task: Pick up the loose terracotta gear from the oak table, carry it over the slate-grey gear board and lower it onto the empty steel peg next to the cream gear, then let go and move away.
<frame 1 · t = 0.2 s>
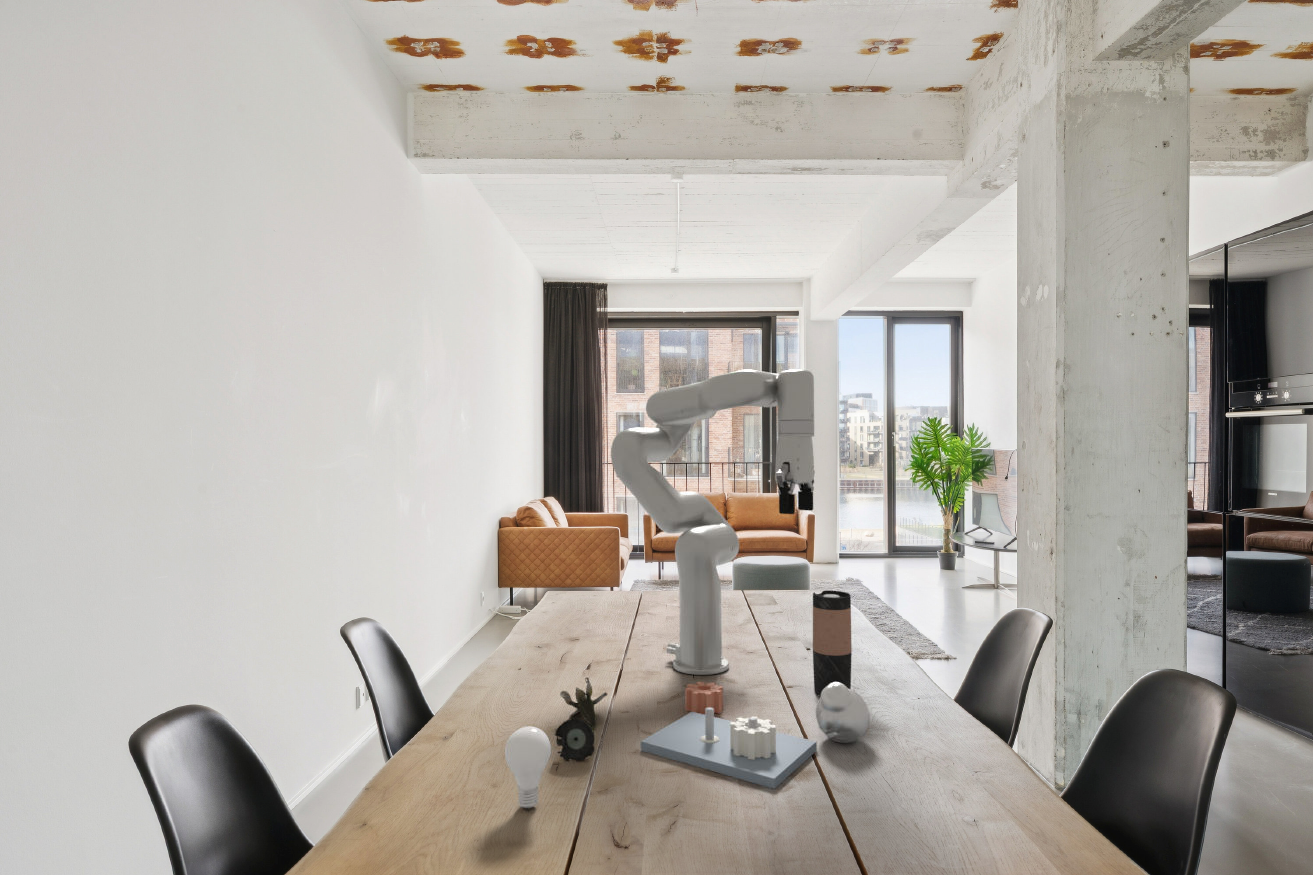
hand: (796, 511, 151), 36 cm above the table, tool pointing down, fingers open, 9 cm apart
artificial flower: (579, 735, 127), on the table
gear board: (728, 750, 119), on the table
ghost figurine: (841, 742, 123), on the table
terracotta gear: (704, 708, 138), on the table
lightbulb: (528, 808, 101), on the table
cream gear: (753, 737, 115), point 4 cm above the table, hinge at 0.0°
travel mug: (832, 693, 146), on the table
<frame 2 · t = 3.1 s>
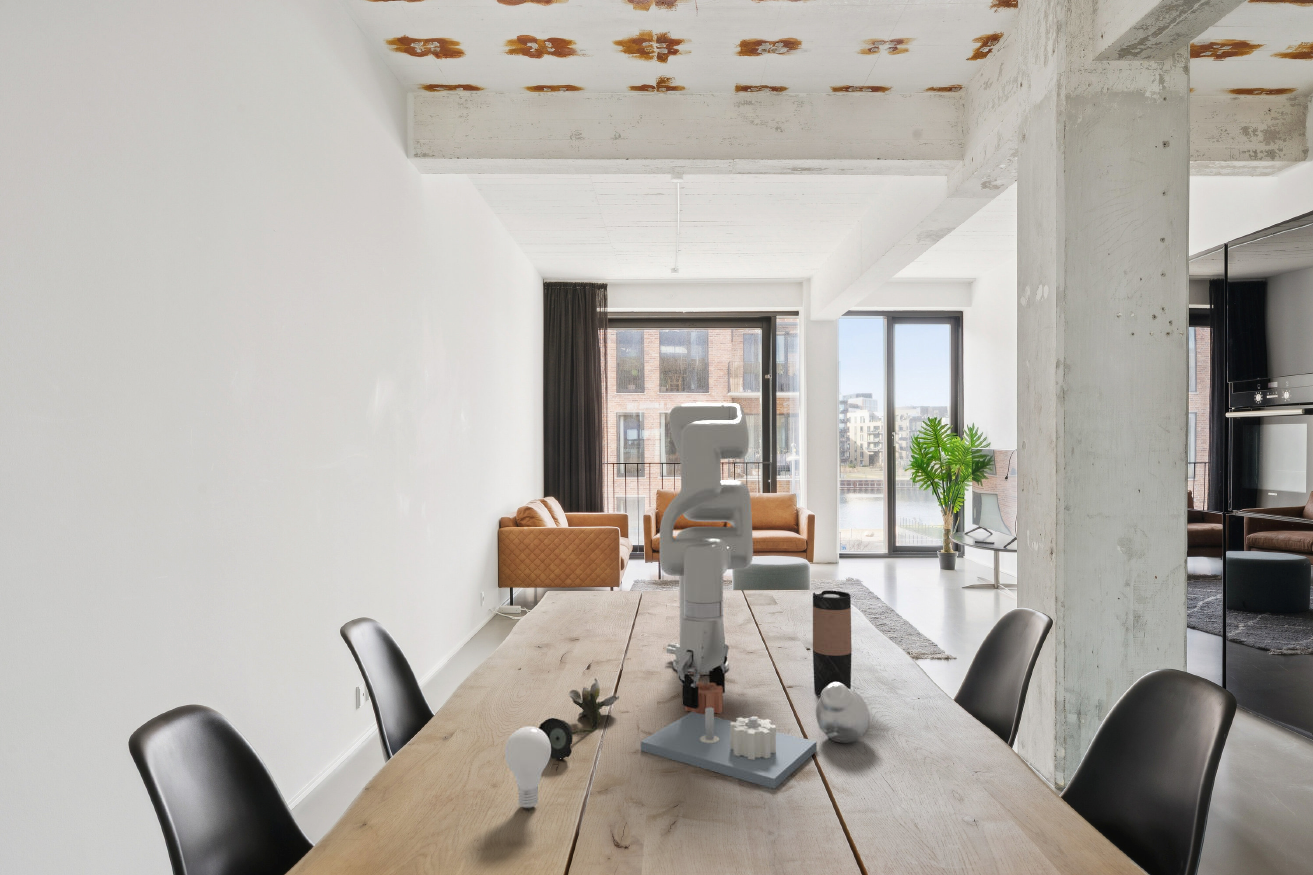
hand: (704, 699, 138), 2 cm above the table, tool pointing down, fingers open, 9 cm apart
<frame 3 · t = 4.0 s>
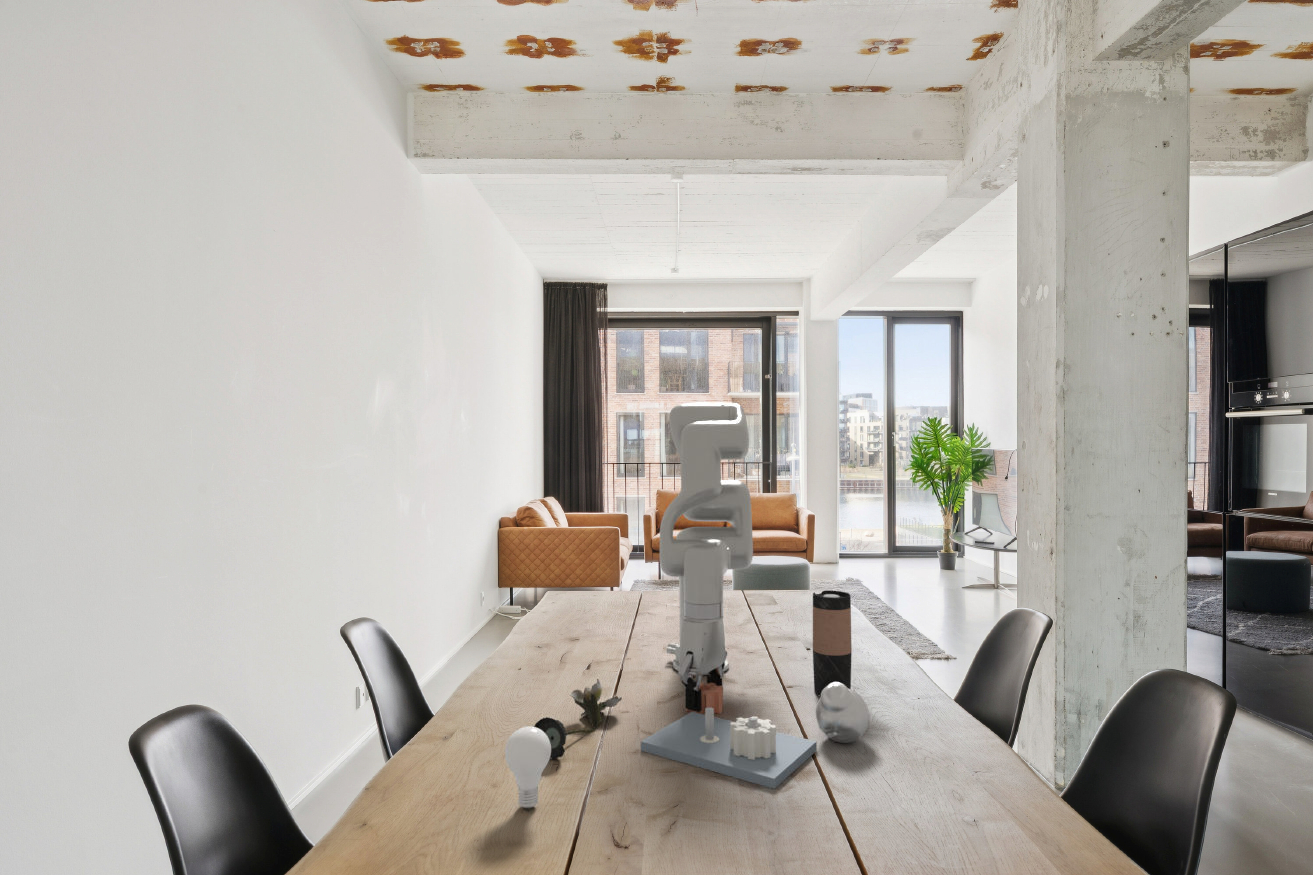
hand: (704, 703, 138), 1 cm above the table, tool pointing down, fingers closed on terracotta gear, 7 cm apart
terracotta gear: (704, 708, 138), on the table, touching gripper
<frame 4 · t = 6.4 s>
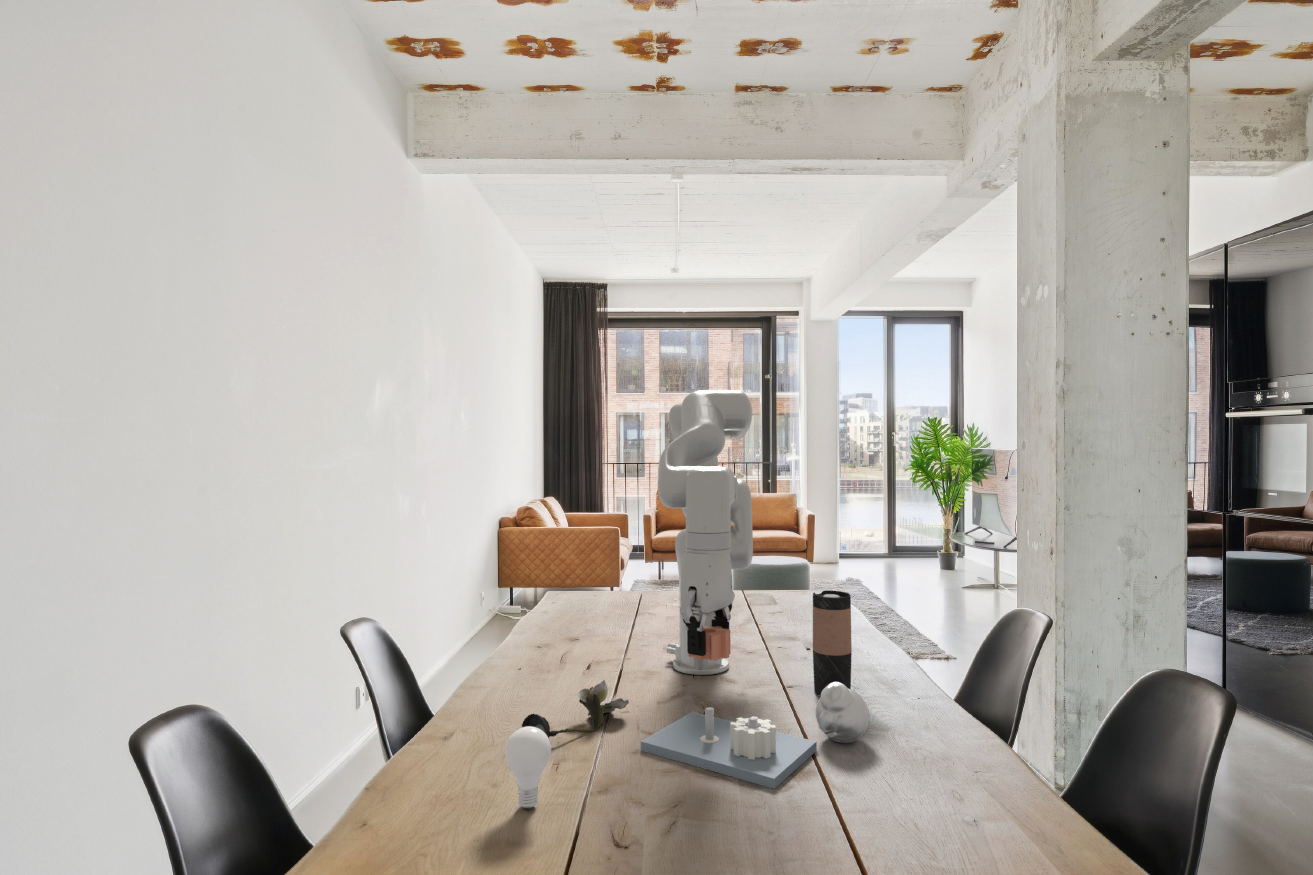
hand: (708, 648, 121), 16 cm above the table, tool pointing down, fingers closed on terracotta gear, 7 cm apart
terracotta gear: (709, 654, 121), point 15 cm above the table, touching gripper
when the fingers open (3 cm above the table, at t = 9.2 s): terracotta gear stays where it is, resting on gear board.
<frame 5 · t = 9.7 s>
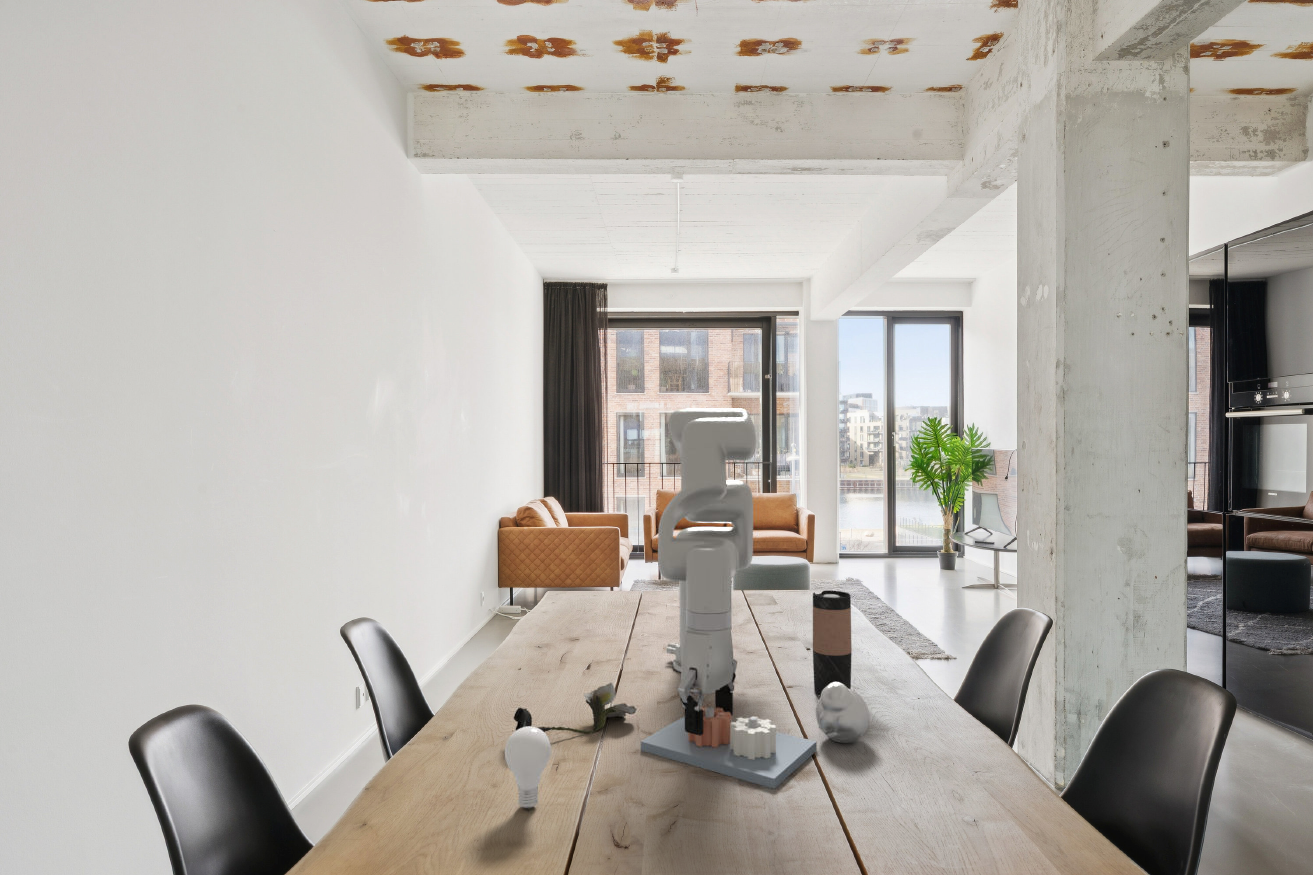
hand: (709, 723, 120), 4 cm above the table, tool pointing down, fingers open, 9 cm apart
terracotta gear: (709, 738, 120), point 2 cm above the table, touching gear board
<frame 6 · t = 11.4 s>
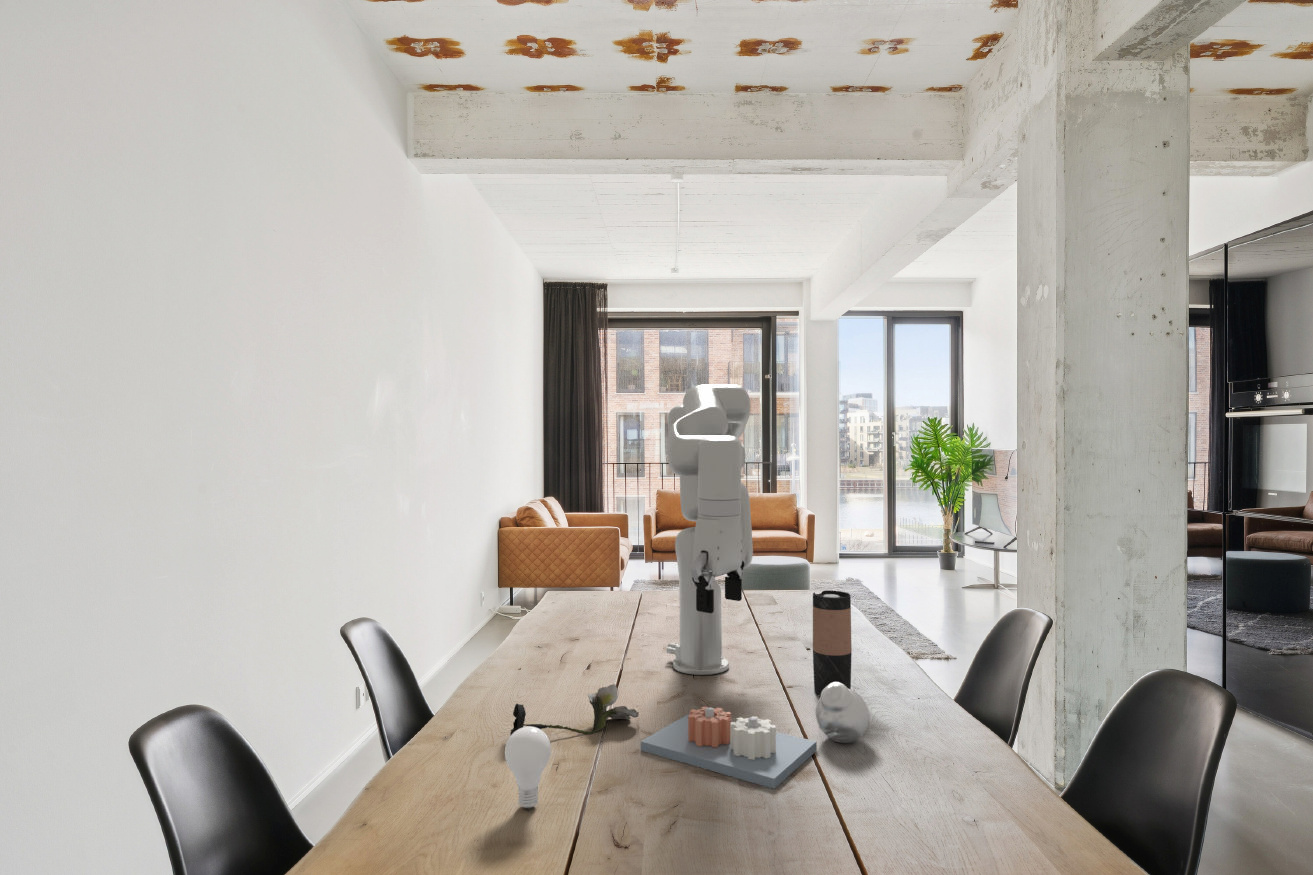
hand: (719, 605, 127), 22 cm above the table, tool pointing down, fingers open, 9 cm apart
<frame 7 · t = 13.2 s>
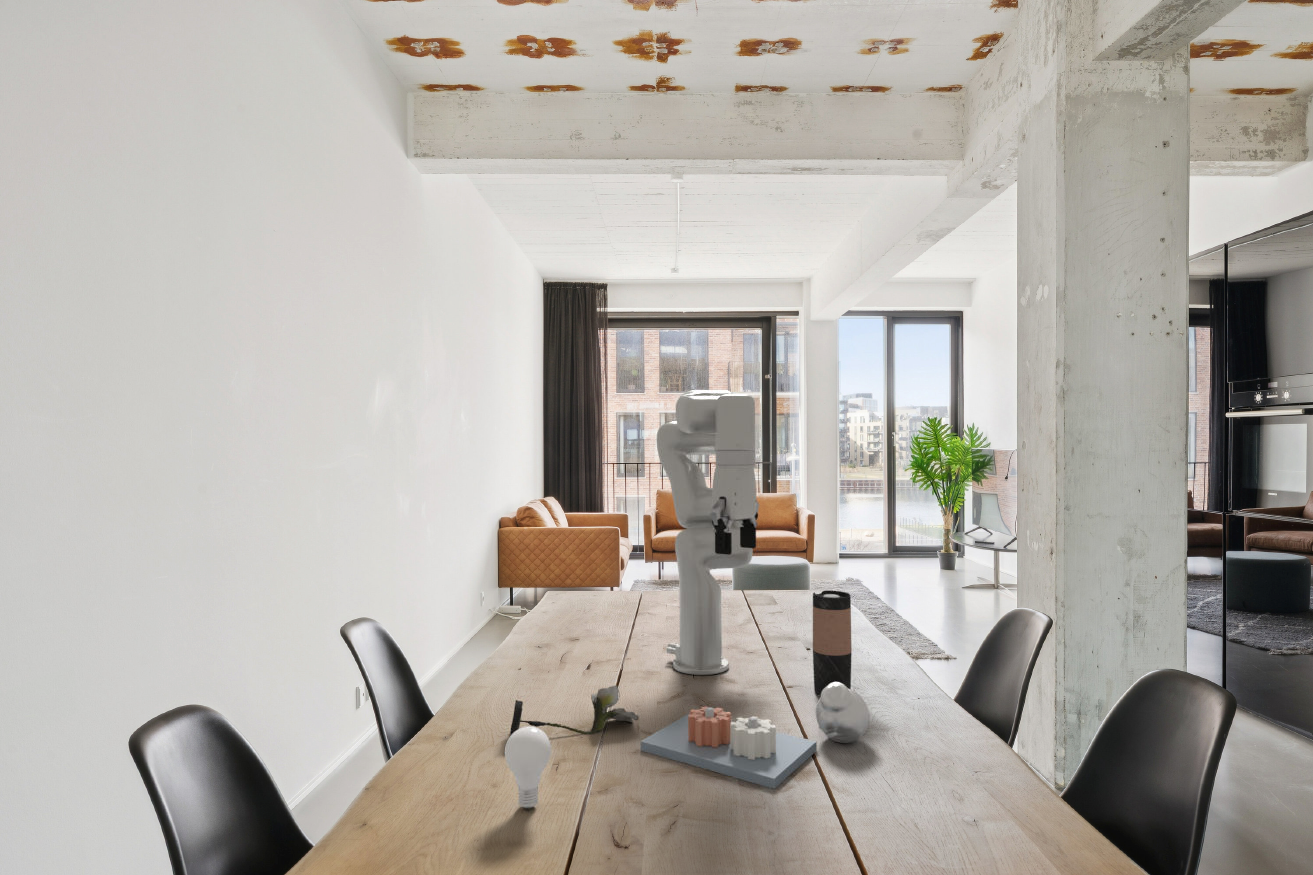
hand: (736, 550, 137), 30 cm above the table, tool pointing down, fingers open, 9 cm apart
at the end: terracotta gear 0.0 cm from the target spot on the gear board, point 1.6 cm above the gear board's base; the gripper is holding nothing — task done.
